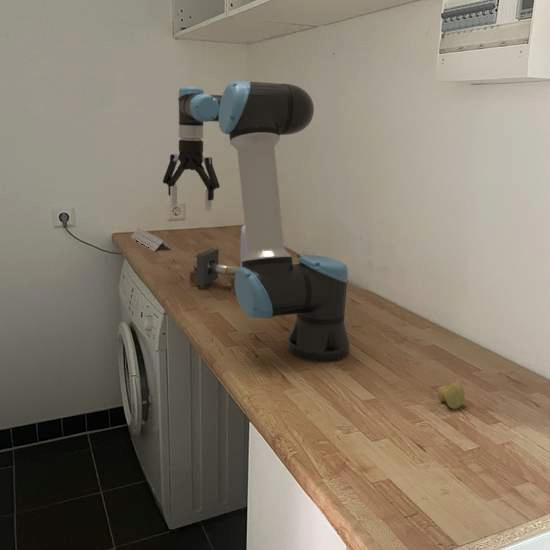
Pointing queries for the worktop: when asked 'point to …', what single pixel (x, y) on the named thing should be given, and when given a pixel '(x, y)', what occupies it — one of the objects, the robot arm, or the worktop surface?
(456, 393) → the knob
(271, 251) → the robot arm
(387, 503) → the worktop surface
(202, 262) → the collar
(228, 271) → the pipe
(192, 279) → the saddles
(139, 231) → the corner bead
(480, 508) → the worktop surface
